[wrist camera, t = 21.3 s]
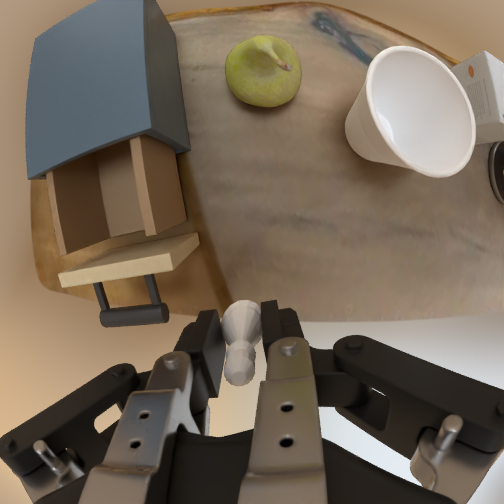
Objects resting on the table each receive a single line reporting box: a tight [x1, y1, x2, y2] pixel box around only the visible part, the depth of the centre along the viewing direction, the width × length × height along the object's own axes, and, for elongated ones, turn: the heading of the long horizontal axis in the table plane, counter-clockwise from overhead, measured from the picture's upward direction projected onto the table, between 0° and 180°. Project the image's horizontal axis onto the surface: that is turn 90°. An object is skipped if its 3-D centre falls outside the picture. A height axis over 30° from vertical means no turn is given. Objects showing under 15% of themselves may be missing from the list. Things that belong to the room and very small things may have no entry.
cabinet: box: [25, 0, 191, 180], centre depth 19 cm, size 15×12×11 cm
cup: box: [345, 46, 476, 178], centre depth 19 cm, size 10×10×11 cm
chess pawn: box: [221, 300, 262, 386], centre depth 10 cm, size 3×2×4 cm
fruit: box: [225, 35, 302, 107], centre depth 18 cm, size 7×8×12 cm
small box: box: [449, 51, 504, 145], centre depth 18 cm, size 8×6×10 cm
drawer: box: [46, 133, 200, 328], centre depth 21 cm, size 18×10×9 cm, turn 10°
